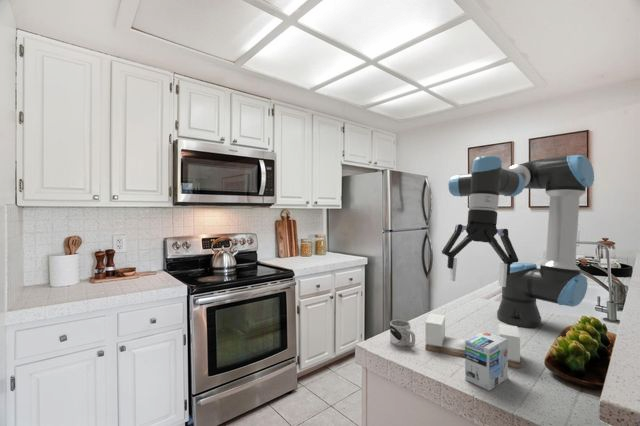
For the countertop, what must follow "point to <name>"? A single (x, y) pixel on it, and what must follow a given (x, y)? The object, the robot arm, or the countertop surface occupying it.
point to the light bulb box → (486, 360)
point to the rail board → (459, 349)
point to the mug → (401, 333)
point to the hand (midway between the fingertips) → (476, 283)
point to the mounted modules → (437, 335)
